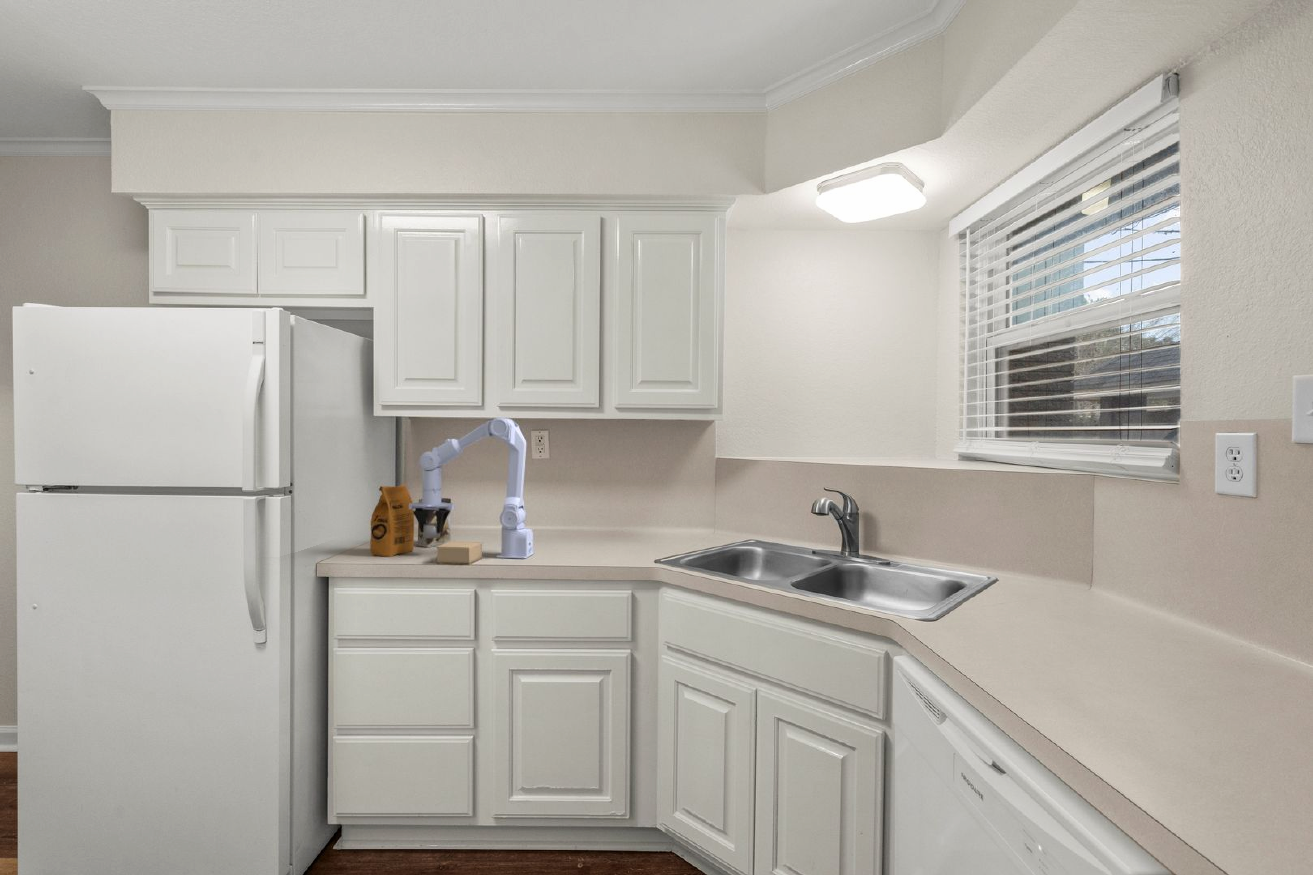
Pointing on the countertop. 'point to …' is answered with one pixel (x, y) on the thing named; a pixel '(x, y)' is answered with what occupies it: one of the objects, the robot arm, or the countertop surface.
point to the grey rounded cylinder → (430, 531)
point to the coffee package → (392, 523)
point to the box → (459, 556)
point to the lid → (459, 545)
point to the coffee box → (433, 519)
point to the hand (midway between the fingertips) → (431, 532)
